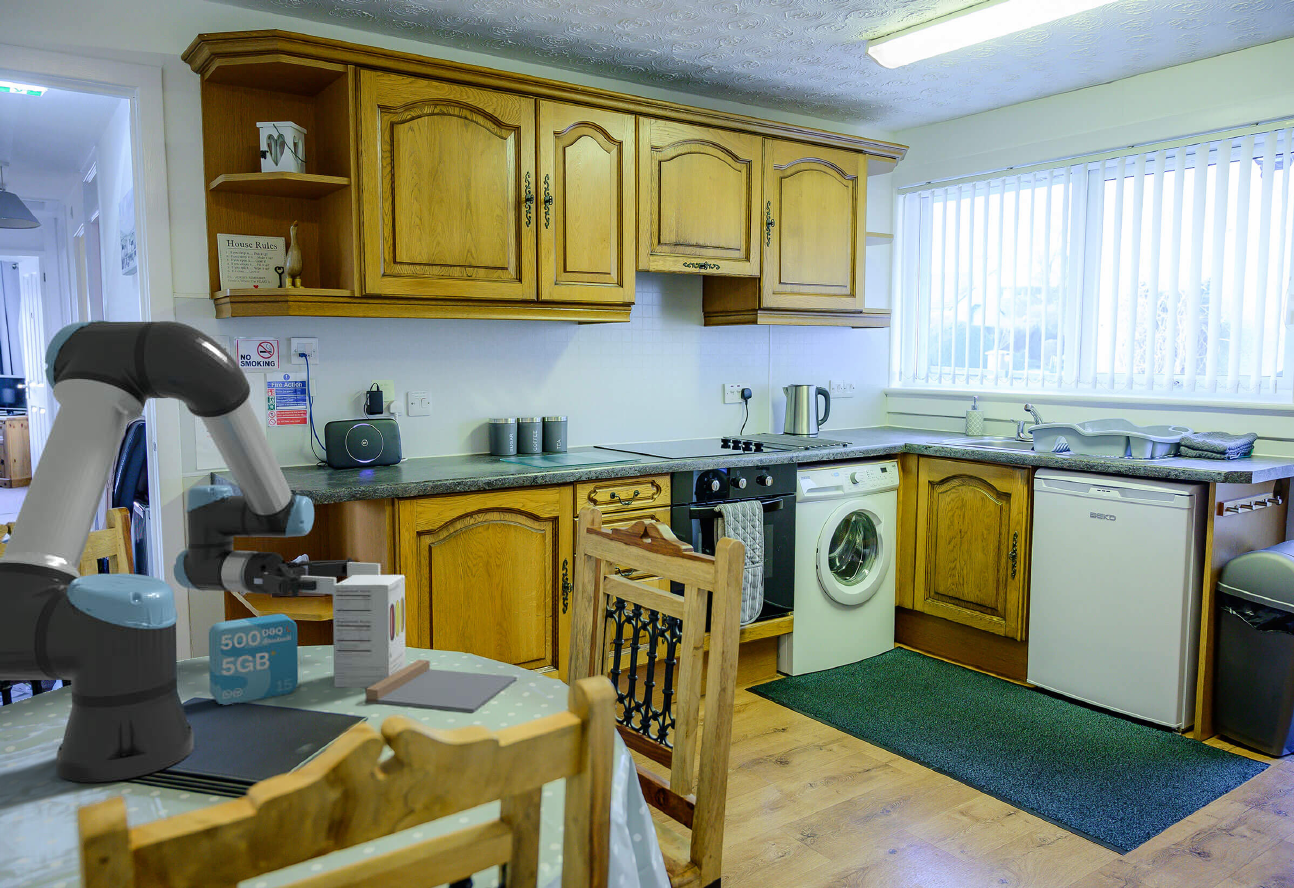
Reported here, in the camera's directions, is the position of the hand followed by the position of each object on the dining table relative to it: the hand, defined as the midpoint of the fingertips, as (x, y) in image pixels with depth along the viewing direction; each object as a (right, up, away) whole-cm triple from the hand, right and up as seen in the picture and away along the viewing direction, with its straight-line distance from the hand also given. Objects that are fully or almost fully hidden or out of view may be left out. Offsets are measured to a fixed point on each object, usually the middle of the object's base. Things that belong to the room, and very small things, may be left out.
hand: (358, 578), depth 154 cm
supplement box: (+5, -16, -9) cm, 19 cm away
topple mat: (+19, -16, -15) cm, 29 cm away
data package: (-10, -16, -17) cm, 26 cm away
